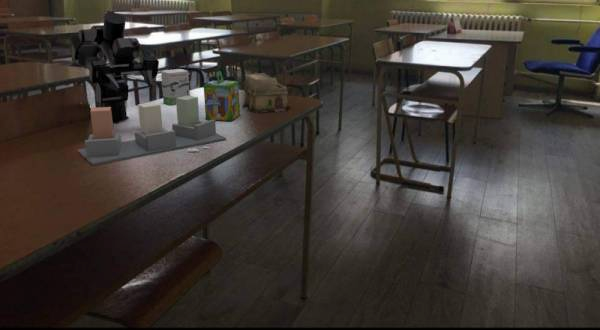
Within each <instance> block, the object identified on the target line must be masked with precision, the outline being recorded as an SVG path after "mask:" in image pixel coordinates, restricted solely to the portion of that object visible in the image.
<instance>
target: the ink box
mask: <svg viewBox="0 0 600 330" xmlns="http://www.w3.org/2000/svg"><path fill="white" fill-rule="evenodd" d="M189 78H190V77H189V70H186V69H182V68H176V69H165V70H162V71H161V87H162V96H163V97H162V99H163V102H162V103H163V104H165V105H168V106H176V98H179V97H183V96H191V95H190V79H189Z"/></svg>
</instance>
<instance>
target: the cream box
mask: <svg viewBox="0 0 600 330" xmlns="http://www.w3.org/2000/svg"><path fill="white" fill-rule="evenodd" d="M137 106H138V107H137V108H138V116H139V126H140V132H142V133H143V134H145V135H148V134H154V133H160V132H163V129H162V128H163V119H162V107H161V106H162V105H161V104H160V103H157V102H154V101H153V102H148V103H140V104H137Z"/></svg>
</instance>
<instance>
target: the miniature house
mask: <svg viewBox="0 0 600 330" xmlns="http://www.w3.org/2000/svg"><path fill="white" fill-rule="evenodd" d="M277 80H278V79H277V78H276V77H271V76H269V75H267V74H266V73H265V72H262V73H245V74H244V84H245V85H244V88H243V90H244V92H245V93H244V102H243V105H242V108H243V109H246V108H245V107H249V108H247V112H248V111H251V112H253V111H255V112H262V113H264V112H263V111H273V110H274V111H275V112H274V111H273V112H274V113H276V112H277V111H282V110H285V109H287V110H288V108H287V107H289V108H290V106H289V103H288V94H289V92H288V87H286V86H284V85H282V84H280V83H278V81H277ZM255 112H254V113H255ZM277 113H278V112H277Z"/></svg>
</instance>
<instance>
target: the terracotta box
mask: <svg viewBox="0 0 600 330" xmlns="http://www.w3.org/2000/svg"><path fill="white" fill-rule="evenodd" d="M90 109H91V110H90V111H89V113H90V118H91V124H92V127H91V128H92V135H94V140H95V139H111V138H114V137H115V131H114V122H113V121H112V113H111V107H101V106H100V107H92V108H90Z"/></svg>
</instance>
